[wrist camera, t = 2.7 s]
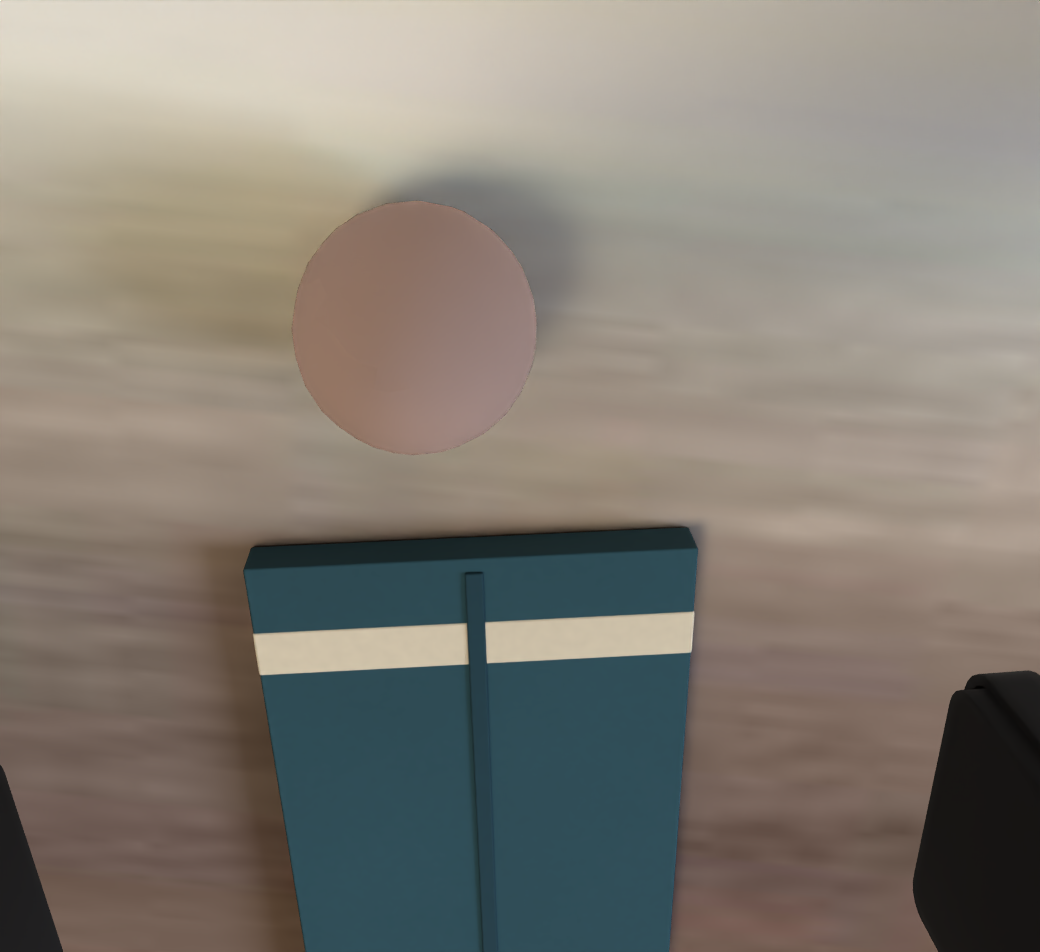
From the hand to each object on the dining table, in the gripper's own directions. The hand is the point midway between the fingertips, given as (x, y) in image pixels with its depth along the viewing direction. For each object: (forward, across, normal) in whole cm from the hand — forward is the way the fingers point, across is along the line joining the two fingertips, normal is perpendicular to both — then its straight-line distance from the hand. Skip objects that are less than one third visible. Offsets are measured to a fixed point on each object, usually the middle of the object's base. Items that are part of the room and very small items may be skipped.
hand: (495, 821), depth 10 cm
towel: (+16, 0, +16) cm, 23 cm away
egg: (+17, +1, -1) cm, 17 cm away
